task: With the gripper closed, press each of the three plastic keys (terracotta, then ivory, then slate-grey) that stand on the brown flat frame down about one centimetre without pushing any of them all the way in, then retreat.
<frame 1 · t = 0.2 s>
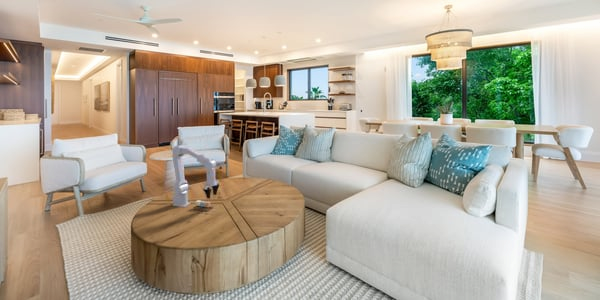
hand: (211, 196, 204), 10 cm above the table, fingers open, 7 cm apart
brown flat frame: (203, 208, 207), on the table
key slate: (203, 203, 207), point 4 cm above the table, slide at 0.0 cm
key terracotta: (207, 204, 205), point 4 cm above the table, slide at 0.0 cm
key ivory: (198, 203, 208), point 4 cm above the table, slide at 0.0 cm
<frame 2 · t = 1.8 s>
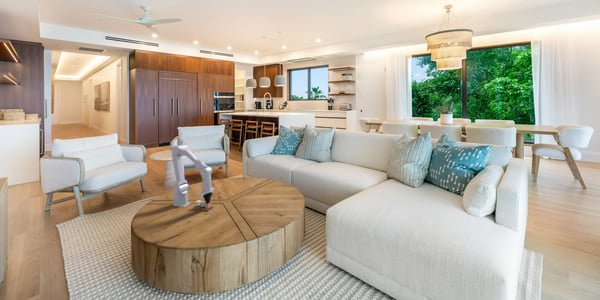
hand: (207, 203, 205), 4 cm above the table, fingers closed, pressing on key terracotta
key terracotta: (207, 205, 206), point 3 cm above the table, slide at 0.6 cm, touching gripper
everything else where it was.
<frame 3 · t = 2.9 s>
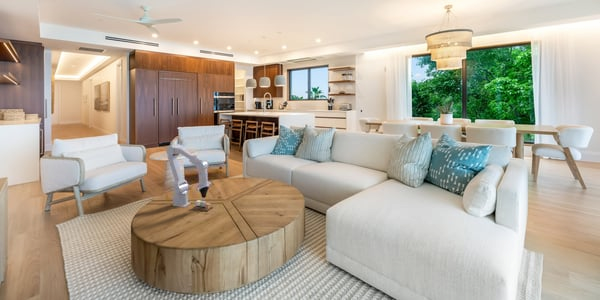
hand: (203, 197, 205), 8 cm above the table, fingers closed
key terracotta: (207, 205, 206), point 3 cm above the table, slide at 1.0 cm
everything else where it was.
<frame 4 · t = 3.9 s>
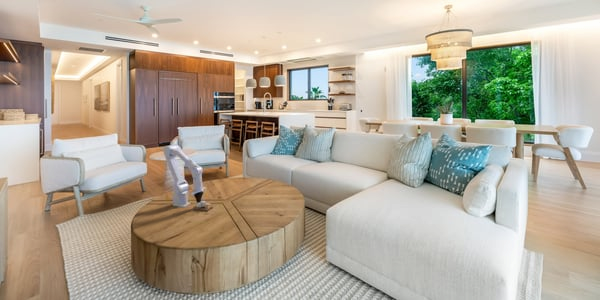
hand: (198, 202, 208), 4 cm above the table, fingers closed, pressing on key ivory
key ivory: (198, 204, 208), point 3 cm above the table, slide at 0.9 cm, touching gripper
everything else where it was.
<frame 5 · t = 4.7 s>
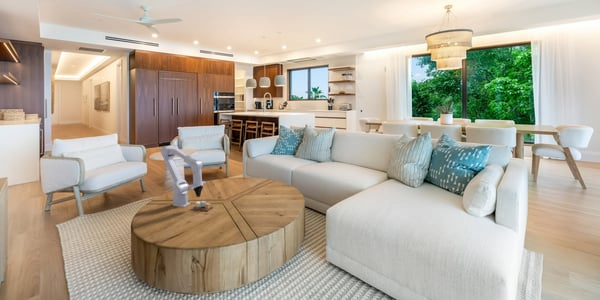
hand: (198, 196, 207), 8 cm above the table, fingers closed
key ivory: (198, 204, 208), point 3 cm above the table, slide at 0.9 cm
everything else where it was.
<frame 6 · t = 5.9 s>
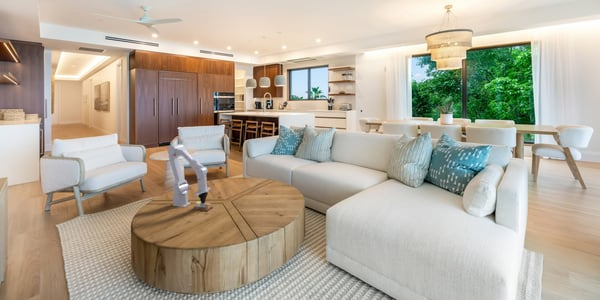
hand: (203, 202, 206), 4 cm above the table, fingers closed, pressing on key slate
key slate: (203, 204, 207), point 3 cm above the table, slide at 0.9 cm, touching gripper
everything else where it was.
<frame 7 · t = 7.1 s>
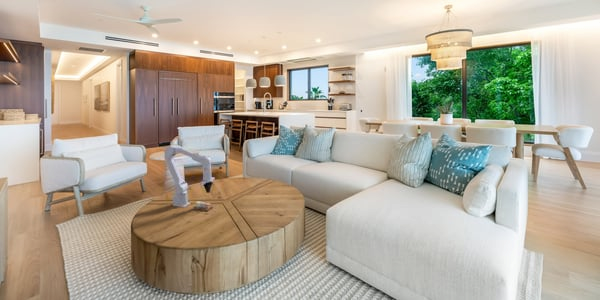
hand: (207, 192, 211), 10 cm above the table, fingers closed
key slate: (203, 204, 207), point 3 cm above the table, slide at 0.9 cm
everything else where it was.
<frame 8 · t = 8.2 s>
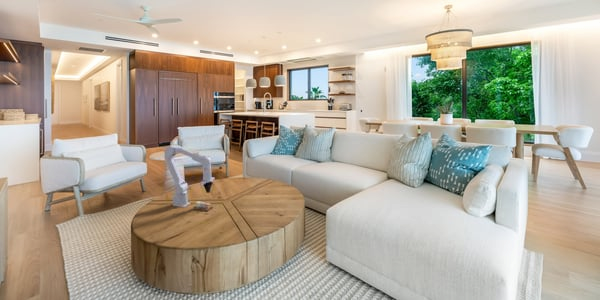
hand: (207, 192, 211), 10 cm above the table, fingers closed
nothing on the table moved.
at the end: key terracotta slide at 1.0 cm; key ivory slide at 0.9 cm; key slate slide at 0.9 cm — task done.
